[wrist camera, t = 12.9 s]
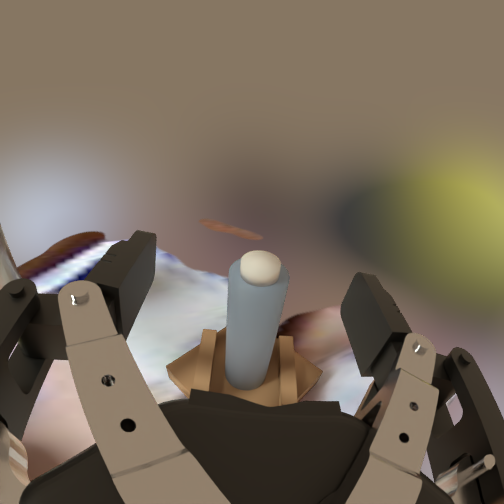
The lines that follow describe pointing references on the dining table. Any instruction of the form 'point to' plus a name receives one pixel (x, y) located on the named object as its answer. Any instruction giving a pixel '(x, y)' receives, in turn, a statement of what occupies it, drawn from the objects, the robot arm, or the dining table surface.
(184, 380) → the display stand
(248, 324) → the flask
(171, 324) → the dining table surface
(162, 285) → the dining table surface
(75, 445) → the dining table surface
